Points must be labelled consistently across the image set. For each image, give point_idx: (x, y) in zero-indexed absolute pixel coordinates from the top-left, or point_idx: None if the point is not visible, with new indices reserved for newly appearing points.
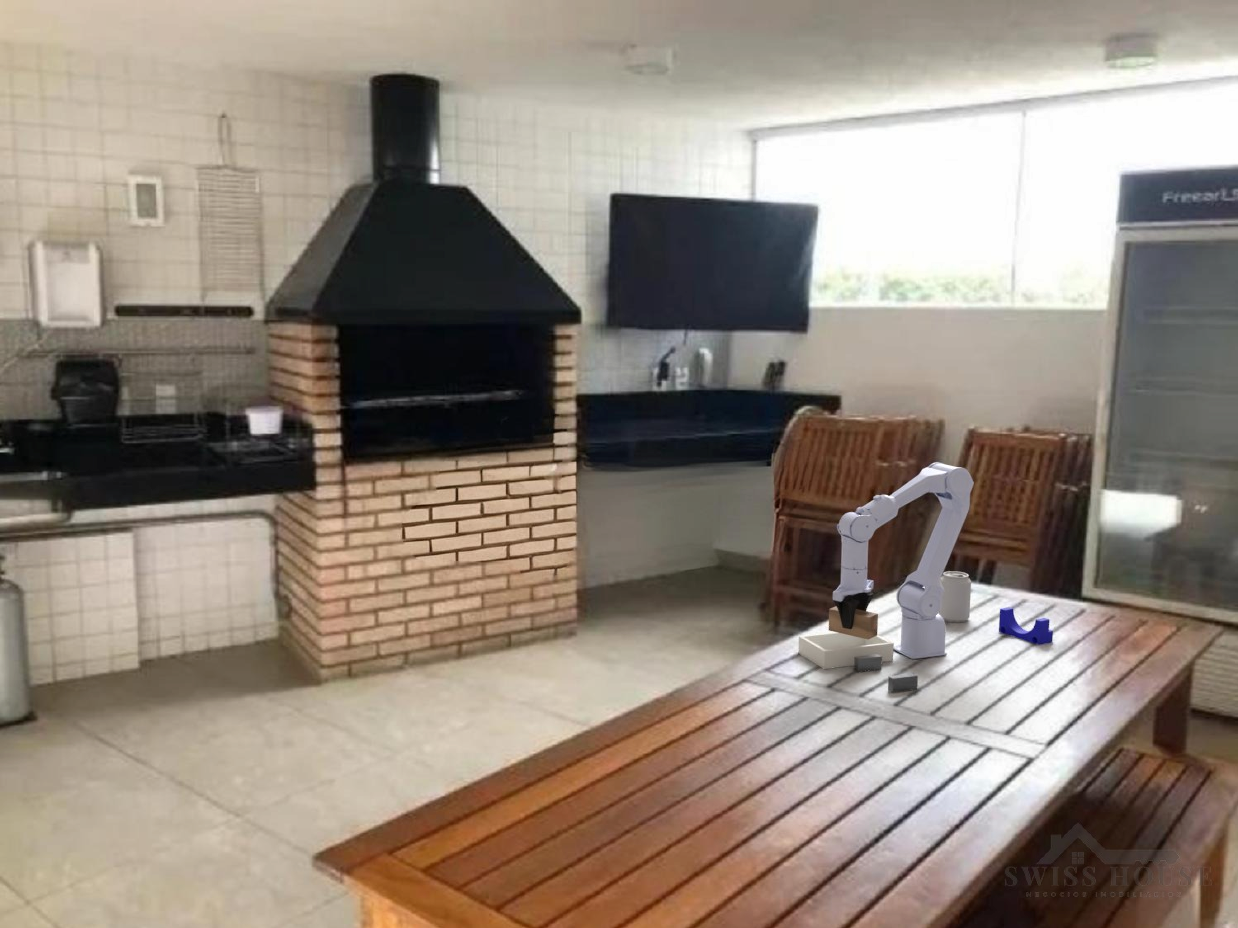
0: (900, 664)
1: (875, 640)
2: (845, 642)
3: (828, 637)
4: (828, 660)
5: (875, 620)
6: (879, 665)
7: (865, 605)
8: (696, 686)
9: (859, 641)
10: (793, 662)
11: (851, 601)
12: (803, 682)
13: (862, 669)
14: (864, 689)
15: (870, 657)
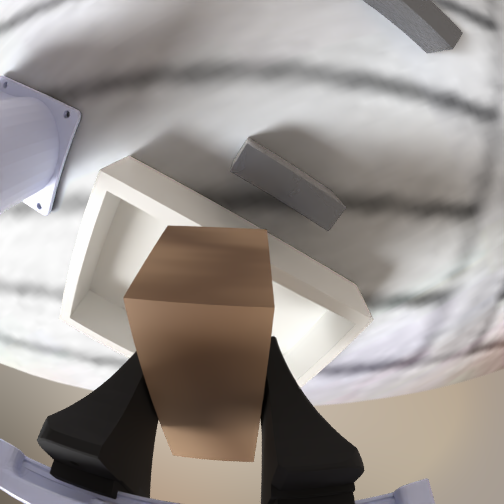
0: (149, 113)
1: (89, 258)
2: None
3: None
4: (353, 292)
5: (171, 274)
6: (257, 144)
7: (129, 402)
8: (500, 368)
9: (98, 303)
10: (343, 355)
11: (349, 475)
12: (465, 272)
13: (319, 183)
14: (455, 118)
15: (295, 176)
